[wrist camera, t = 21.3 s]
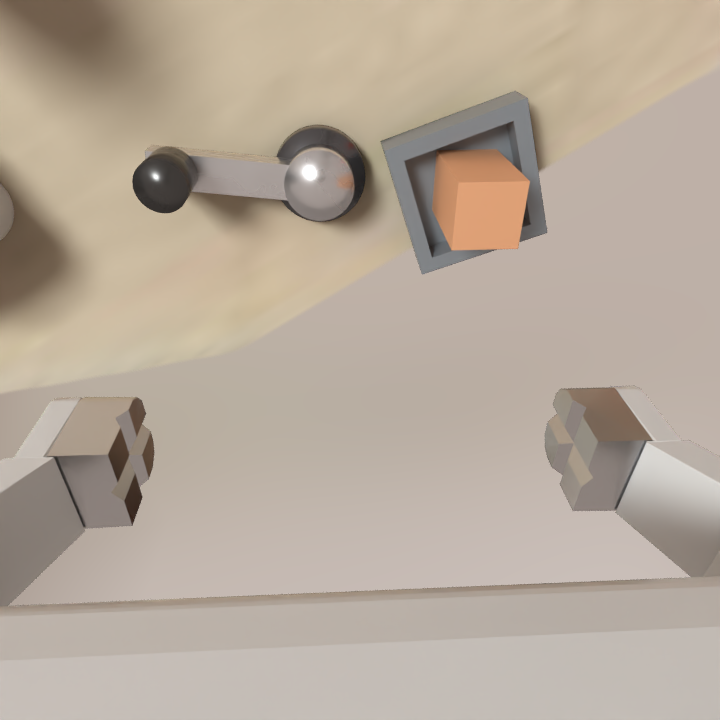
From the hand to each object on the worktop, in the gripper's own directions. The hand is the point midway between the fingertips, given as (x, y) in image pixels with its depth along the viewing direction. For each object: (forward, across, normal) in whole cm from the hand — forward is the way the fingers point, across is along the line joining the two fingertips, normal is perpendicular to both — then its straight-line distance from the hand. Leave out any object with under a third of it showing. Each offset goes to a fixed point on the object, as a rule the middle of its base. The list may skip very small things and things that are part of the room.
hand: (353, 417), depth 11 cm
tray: (+29, -9, +4) cm, 31 cm away
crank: (+28, +5, +3) cm, 28 cm away
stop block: (+28, -9, +4) cm, 30 cm away
